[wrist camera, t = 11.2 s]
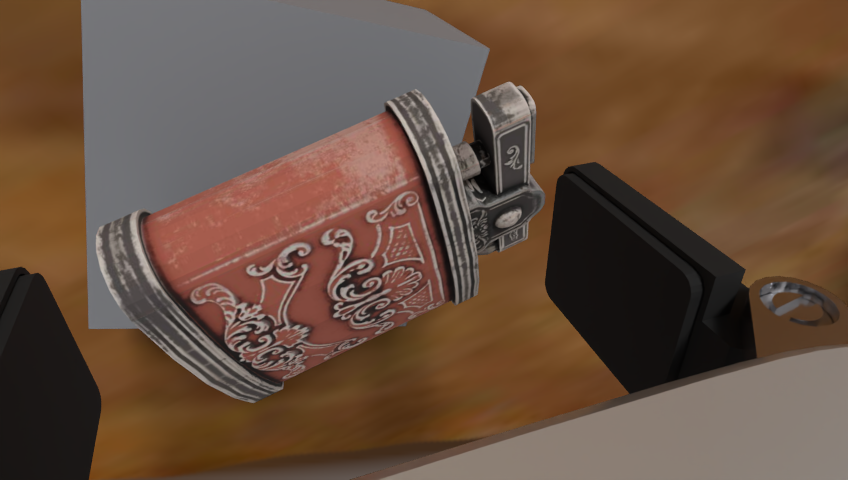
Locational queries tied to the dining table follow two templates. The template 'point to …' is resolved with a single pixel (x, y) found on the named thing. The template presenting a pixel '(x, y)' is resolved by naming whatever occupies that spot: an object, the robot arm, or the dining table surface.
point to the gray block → (243, 93)
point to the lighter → (326, 242)
